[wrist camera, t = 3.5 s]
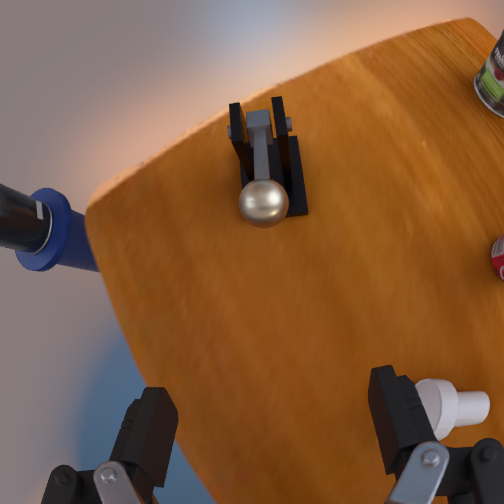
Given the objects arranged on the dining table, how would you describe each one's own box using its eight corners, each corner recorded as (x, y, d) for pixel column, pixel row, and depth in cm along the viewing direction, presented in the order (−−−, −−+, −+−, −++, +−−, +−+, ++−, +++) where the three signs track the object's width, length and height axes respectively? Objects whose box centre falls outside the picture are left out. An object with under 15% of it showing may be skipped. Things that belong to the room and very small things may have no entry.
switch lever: (292, 235, 23) (288, 201, 20) (243, 240, 23) (232, 208, 20) (279, 132, 30) (275, 102, 27) (244, 137, 31) (237, 108, 28)
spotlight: (415, 368, 33) (448, 396, 25) (474, 370, 33) (508, 392, 25) (393, 421, 33) (418, 456, 25) (453, 418, 34) (481, 446, 26)
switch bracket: (308, 214, 39) (311, 166, 25) (245, 221, 40) (216, 178, 26) (297, 139, 41) (292, 69, 27) (240, 146, 42) (212, 81, 28)
